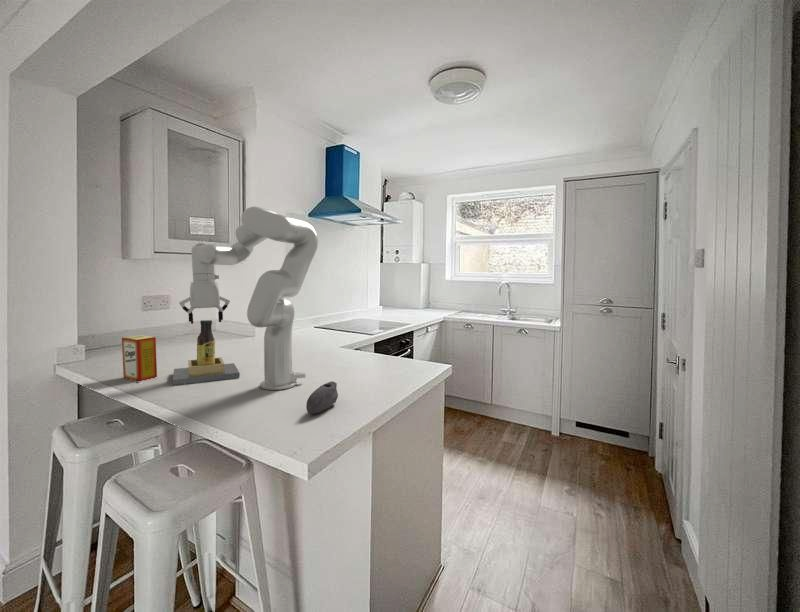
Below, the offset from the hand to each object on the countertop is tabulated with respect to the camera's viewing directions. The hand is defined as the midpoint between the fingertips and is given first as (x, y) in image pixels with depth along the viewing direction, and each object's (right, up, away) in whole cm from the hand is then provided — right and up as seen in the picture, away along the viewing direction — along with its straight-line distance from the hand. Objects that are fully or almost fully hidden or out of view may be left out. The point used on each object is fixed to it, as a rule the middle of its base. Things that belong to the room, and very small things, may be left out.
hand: (206, 322), depth 145 cm
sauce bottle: (-1, -19, +2) cm, 19 cm away
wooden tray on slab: (-1, -21, +2) cm, 21 cm away
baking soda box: (-24, -21, -2) cm, 32 cm away
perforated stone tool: (+52, -25, -33) cm, 66 cm away
